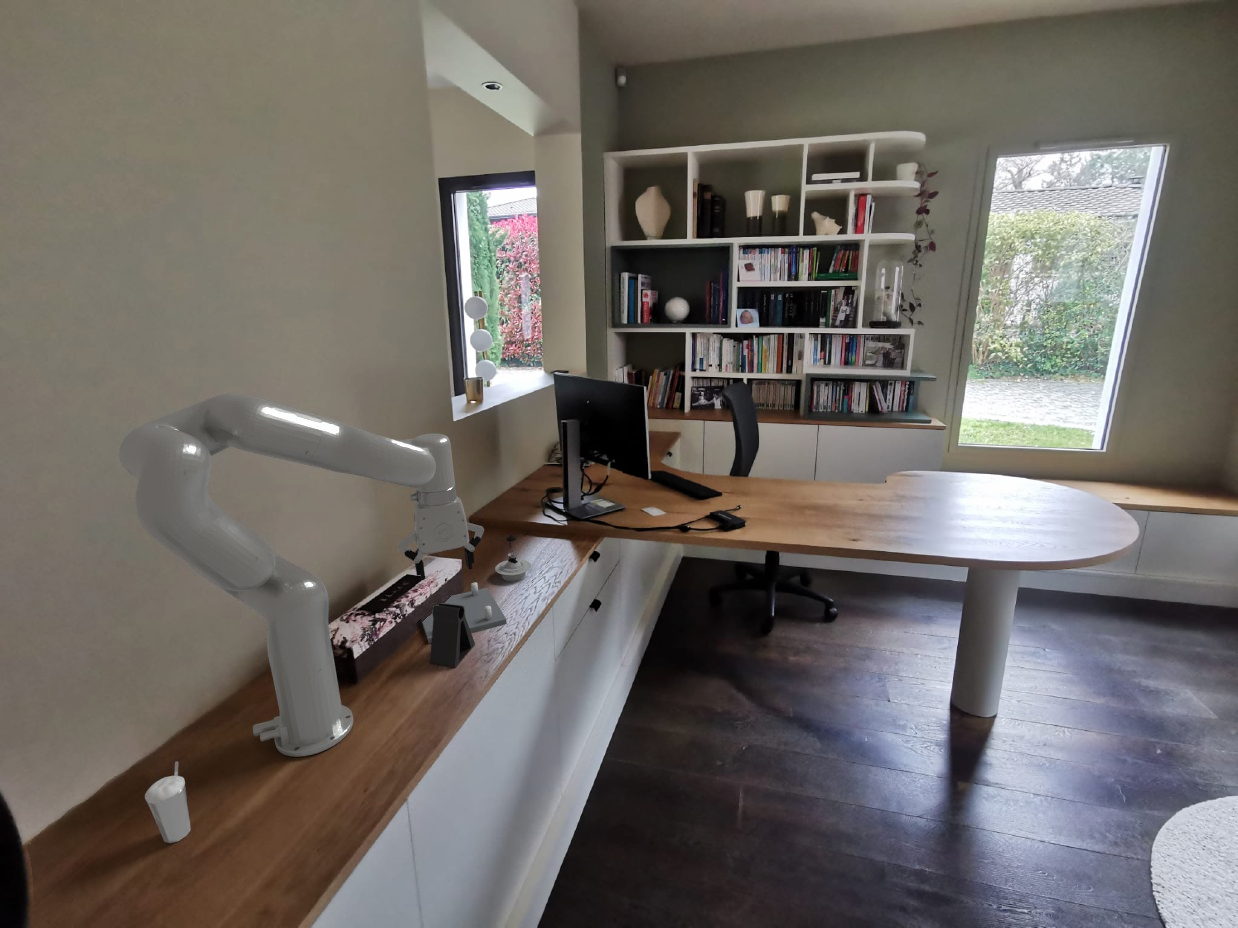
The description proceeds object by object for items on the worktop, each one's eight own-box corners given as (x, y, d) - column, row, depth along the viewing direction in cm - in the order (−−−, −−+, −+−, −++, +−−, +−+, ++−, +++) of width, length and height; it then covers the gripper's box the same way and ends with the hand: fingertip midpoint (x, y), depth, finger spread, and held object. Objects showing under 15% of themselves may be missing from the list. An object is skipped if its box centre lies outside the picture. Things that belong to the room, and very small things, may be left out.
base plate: (428, 643, 134) (426, 626, 133) (416, 607, 149) (415, 592, 148) (506, 623, 142) (505, 607, 140) (487, 591, 157) (486, 577, 156)
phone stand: (455, 668, 125) (449, 617, 121) (429, 664, 126) (423, 614, 123) (475, 645, 133) (470, 596, 130) (451, 641, 134) (446, 593, 131)
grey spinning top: (537, 532, 164) (510, 525, 169) (511, 545, 156) (484, 537, 161) (539, 573, 167) (513, 565, 173) (514, 587, 159) (488, 578, 165)
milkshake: (206, 815, 90) (192, 760, 87) (183, 846, 85) (167, 789, 82) (176, 816, 90) (161, 761, 87) (150, 848, 84) (133, 791, 82)
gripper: (394, 508, 113) (405, 589, 118) (484, 493, 120) (491, 570, 125) (389, 497, 119) (400, 574, 124) (475, 483, 127) (482, 556, 131)
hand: (446, 572), depth 125 cm, fingers open, 9 cm apart
